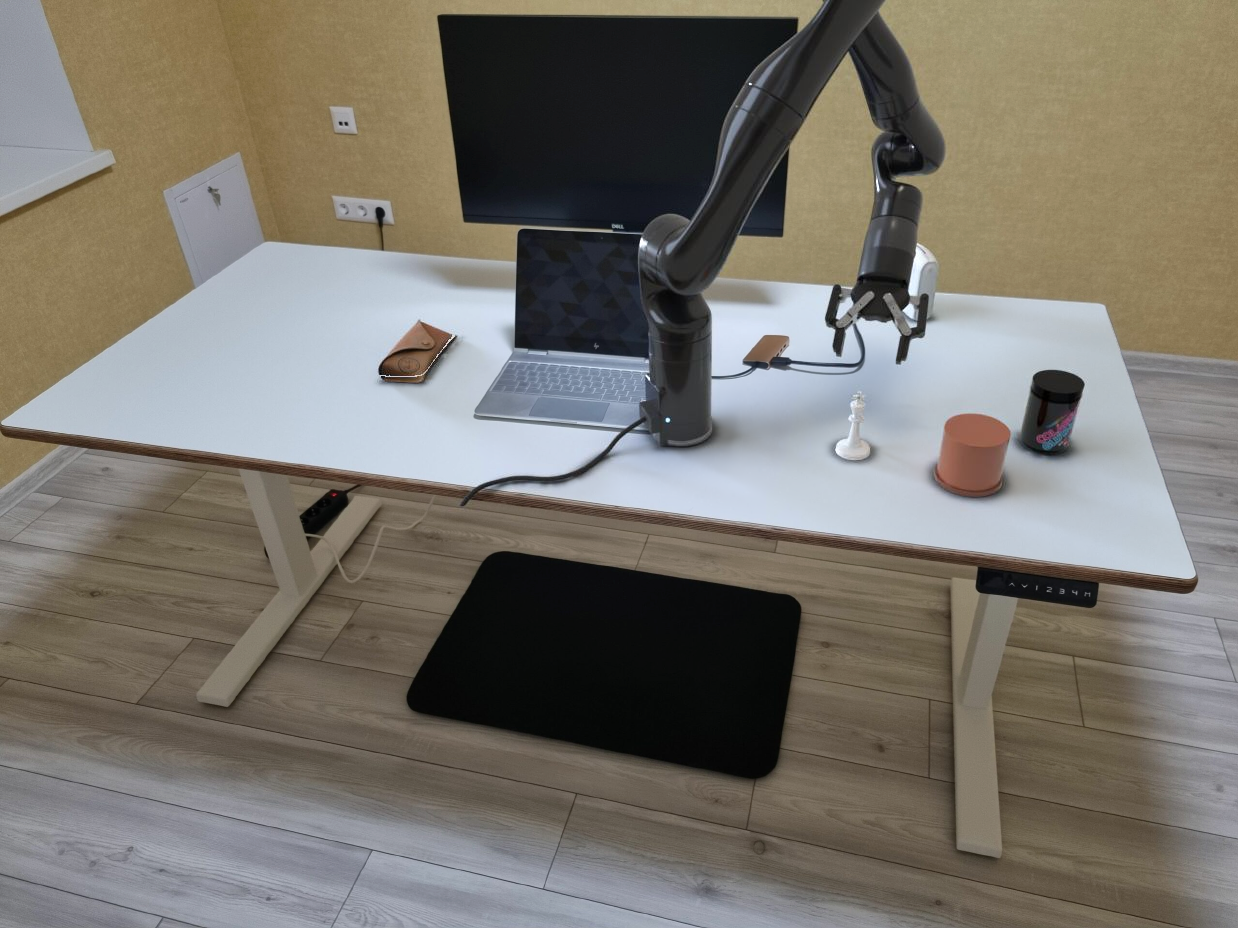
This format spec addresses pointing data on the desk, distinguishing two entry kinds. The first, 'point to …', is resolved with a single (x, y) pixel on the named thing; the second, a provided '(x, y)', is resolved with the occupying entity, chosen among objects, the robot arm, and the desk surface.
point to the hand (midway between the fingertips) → (868, 359)
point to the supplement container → (1051, 411)
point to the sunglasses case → (415, 354)
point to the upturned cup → (972, 455)
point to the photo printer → (923, 279)
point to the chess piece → (854, 434)
